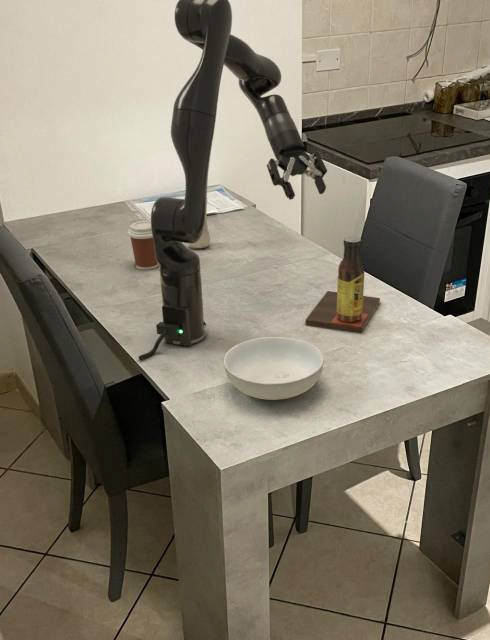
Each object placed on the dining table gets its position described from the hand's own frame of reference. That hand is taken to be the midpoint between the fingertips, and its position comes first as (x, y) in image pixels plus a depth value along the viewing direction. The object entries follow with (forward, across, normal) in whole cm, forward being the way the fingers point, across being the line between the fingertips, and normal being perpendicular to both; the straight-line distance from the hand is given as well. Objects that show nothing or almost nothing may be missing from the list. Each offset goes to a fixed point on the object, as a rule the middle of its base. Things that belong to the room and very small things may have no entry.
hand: (307, 195), depth 193 cm
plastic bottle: (-15, -8, +55) cm, 58 cm away
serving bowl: (+44, -29, -4) cm, 52 cm away
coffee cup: (-12, -27, +51) cm, 59 cm away
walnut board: (+28, +4, +11) cm, 30 cm away
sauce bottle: (+31, +2, +7) cm, 31 cm away
